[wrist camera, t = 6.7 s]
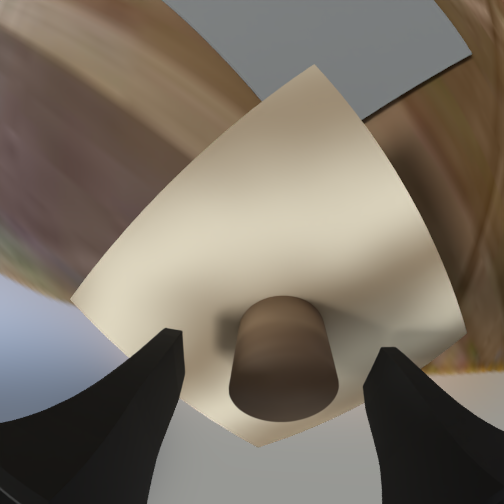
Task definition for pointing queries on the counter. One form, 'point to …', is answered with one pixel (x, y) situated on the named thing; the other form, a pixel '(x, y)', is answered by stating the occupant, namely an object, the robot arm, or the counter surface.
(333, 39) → the mat
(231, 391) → the lid
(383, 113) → the counter surface
